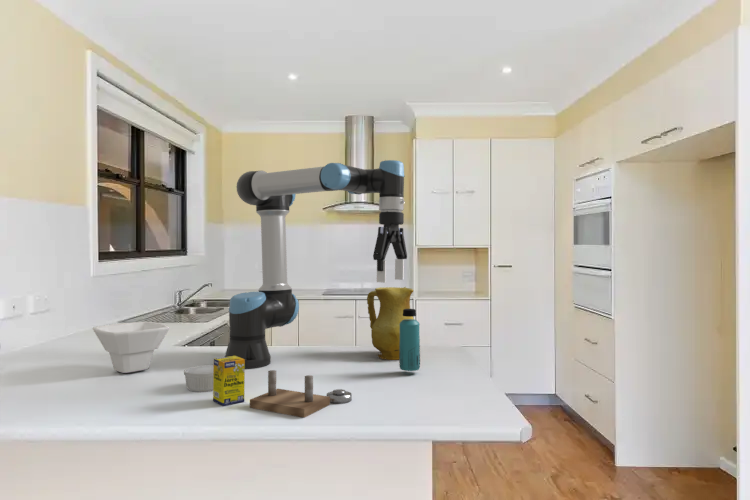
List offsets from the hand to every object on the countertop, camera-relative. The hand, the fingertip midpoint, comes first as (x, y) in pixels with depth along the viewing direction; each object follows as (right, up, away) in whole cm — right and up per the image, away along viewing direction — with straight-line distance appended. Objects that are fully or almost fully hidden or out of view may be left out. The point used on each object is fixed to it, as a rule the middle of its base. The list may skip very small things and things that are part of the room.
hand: (390, 281), depth 161 cm
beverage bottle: (+6, -29, +1) cm, 29 cm away
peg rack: (-26, -29, -32) cm, 50 cm away
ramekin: (-52, -29, -15) cm, 61 cm away
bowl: (-81, -29, +3) cm, 86 cm away
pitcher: (+2, -29, +27) cm, 39 cm away
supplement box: (-42, -29, -28) cm, 58 cm away
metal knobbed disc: (-14, -29, -27) cm, 42 cm away
